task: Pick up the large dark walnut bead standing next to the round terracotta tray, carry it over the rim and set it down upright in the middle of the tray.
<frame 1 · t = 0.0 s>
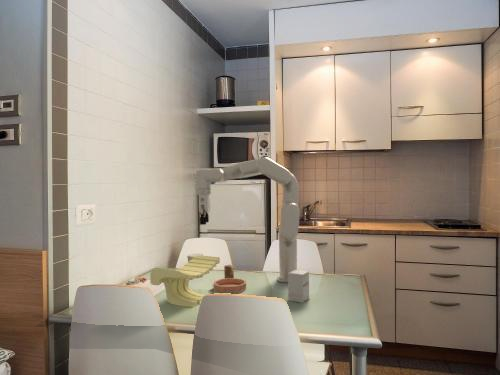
hand: (204, 223, 218), 31 cm above the table, tool pointing down, fingers open, 9 cm apart
walnut bead: (229, 280, 217), on the table
slatted curved stool: (187, 301, 184), on the table
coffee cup: (196, 276, 229), on the table
round tray: (230, 289, 201), on the table
supplement box: (298, 299, 183), on the table
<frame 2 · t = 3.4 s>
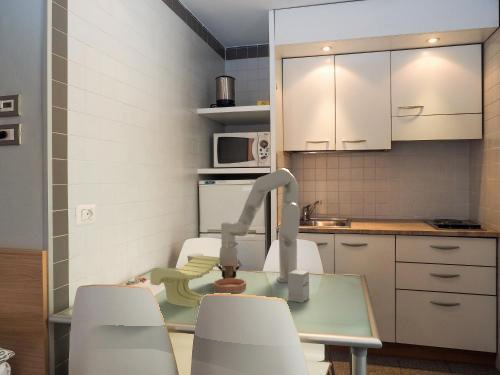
hand: (229, 278, 217), 1 cm above the table, tool pointing down, fingers closed on walnut bead, 4 cm apart
walnut bead: (229, 280, 217), on the table, touching gripper
everything else where it was.
when the fingers open (4 cm above the table, at t = 10.7 s): walnut bead drops 1 cm, resting on round tray.
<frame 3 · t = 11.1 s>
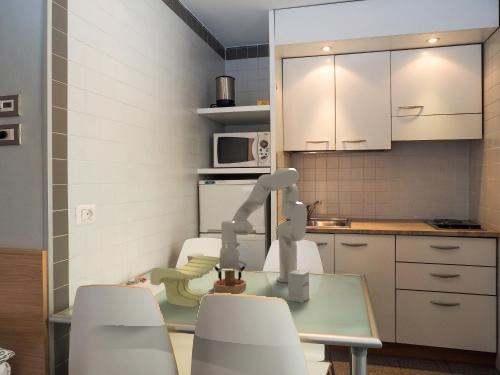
hand: (229, 279, 201), 5 cm above the table, tool pointing down, fingers open, 9 cm apart
walnut bead: (230, 287, 201), point 1 cm above the table, touching round tray
everything else where it was.
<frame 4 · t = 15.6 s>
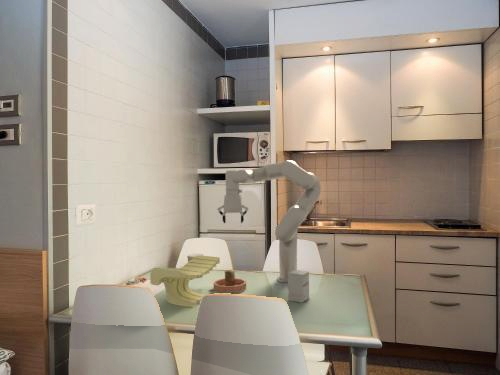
hand: (233, 222, 225), 30 cm above the table, tool pointing down, fingers open, 9 cm apart
nothing on the table moved.
at the end: walnut bead inside the target area on the round tray (0.0 cm from its centre), point 1.0 cm above the round tray's base; walnut bead tilted 0°; the gripper is holding nothing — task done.
